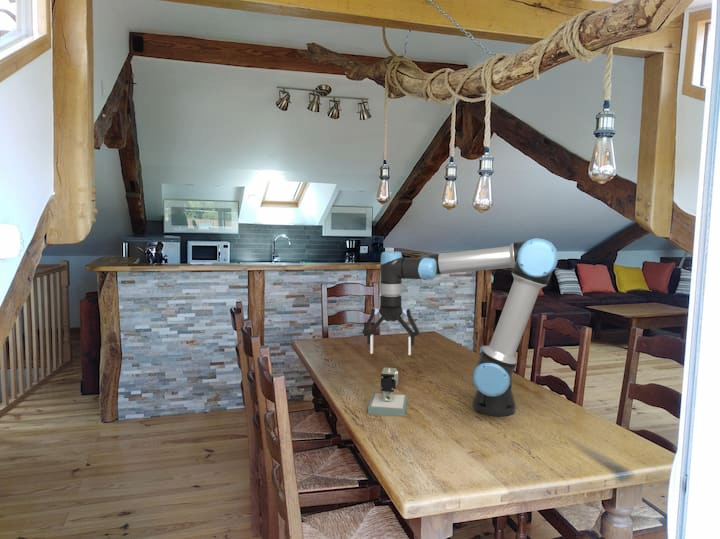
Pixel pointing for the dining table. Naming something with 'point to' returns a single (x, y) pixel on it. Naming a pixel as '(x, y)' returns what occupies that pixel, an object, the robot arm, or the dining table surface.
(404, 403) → the stand
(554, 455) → the dining table surface
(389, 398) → the pneumatic valve
